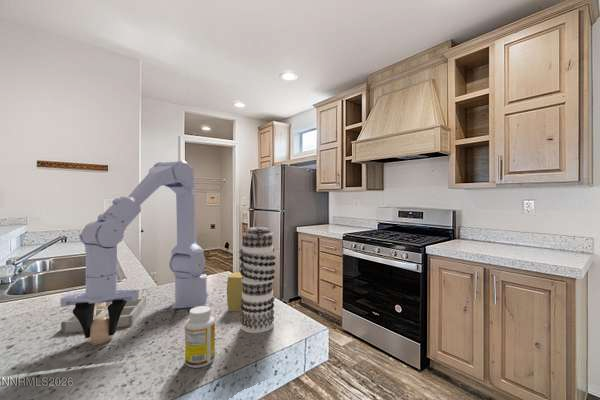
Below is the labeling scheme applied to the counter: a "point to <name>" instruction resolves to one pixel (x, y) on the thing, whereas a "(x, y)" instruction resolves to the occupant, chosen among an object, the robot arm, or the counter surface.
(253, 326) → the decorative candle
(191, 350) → the supplement bottle
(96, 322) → the egg
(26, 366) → the counter surface
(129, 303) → the carton
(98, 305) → the pale egg
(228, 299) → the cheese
